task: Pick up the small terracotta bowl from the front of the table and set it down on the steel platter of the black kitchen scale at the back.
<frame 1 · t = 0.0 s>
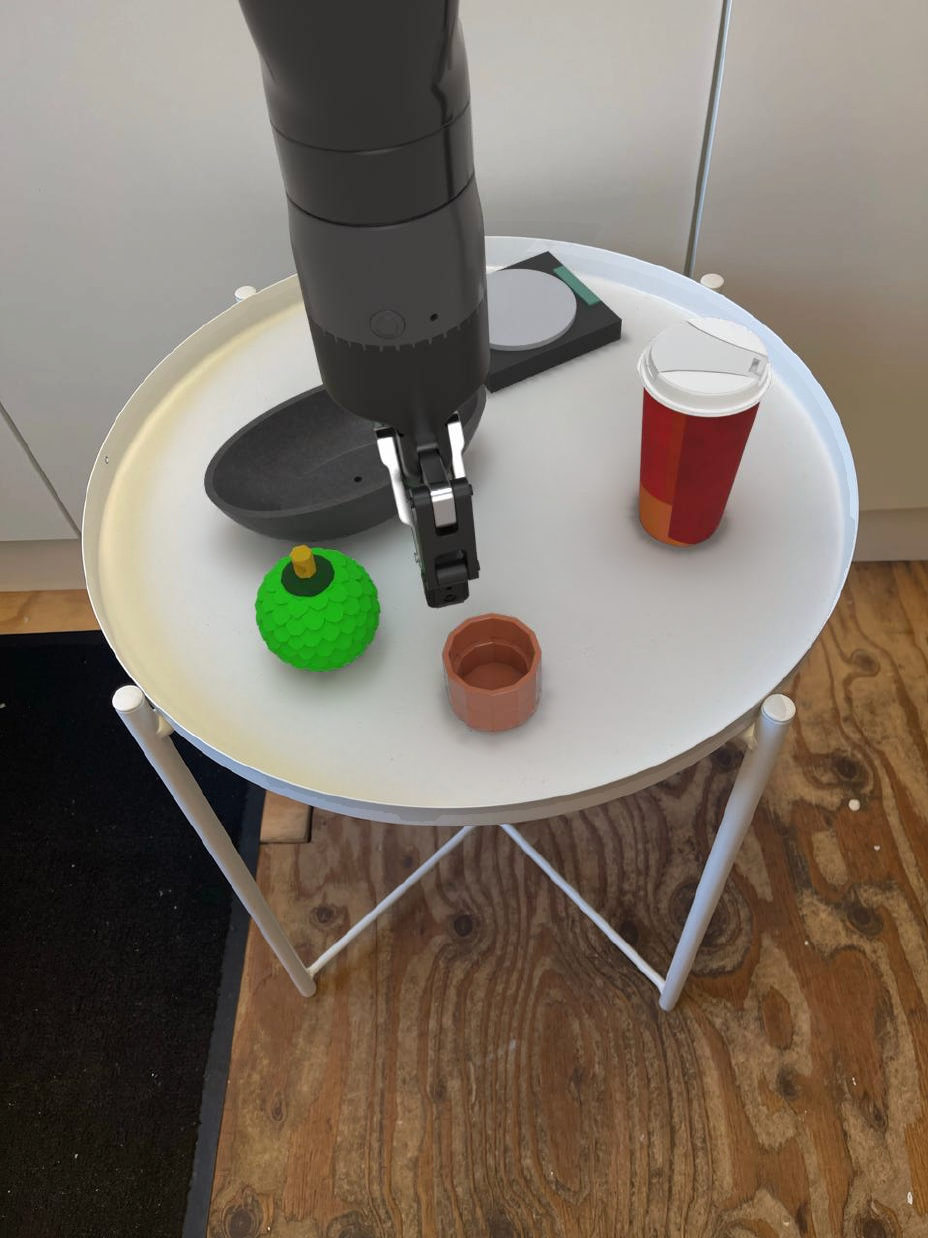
hand: (429, 539, 52), 15 cm above the table, tool pointing down, fingers open, 8 cm apart
coffee cup: (677, 517, 72), on the table
ornament: (329, 646, 67), on the table
small bowl: (494, 694, 64), on the table
bowl: (361, 495, 75), on the table
scale: (521, 327, 86), on the table
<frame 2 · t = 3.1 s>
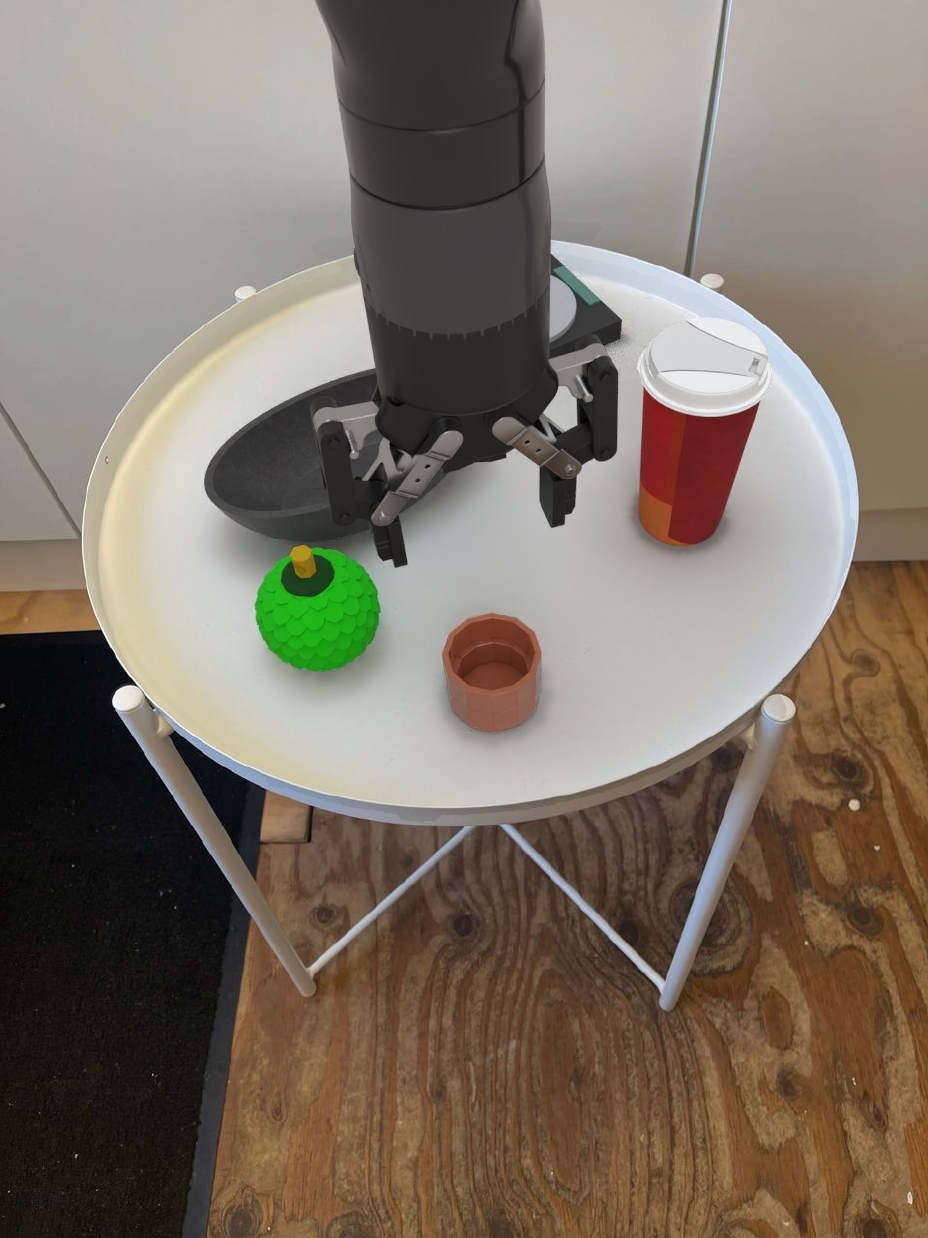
hand: (475, 534, 51), 16 cm above the table, tool pointing down, fingers open, 8 cm apart
nothing on the table moved.
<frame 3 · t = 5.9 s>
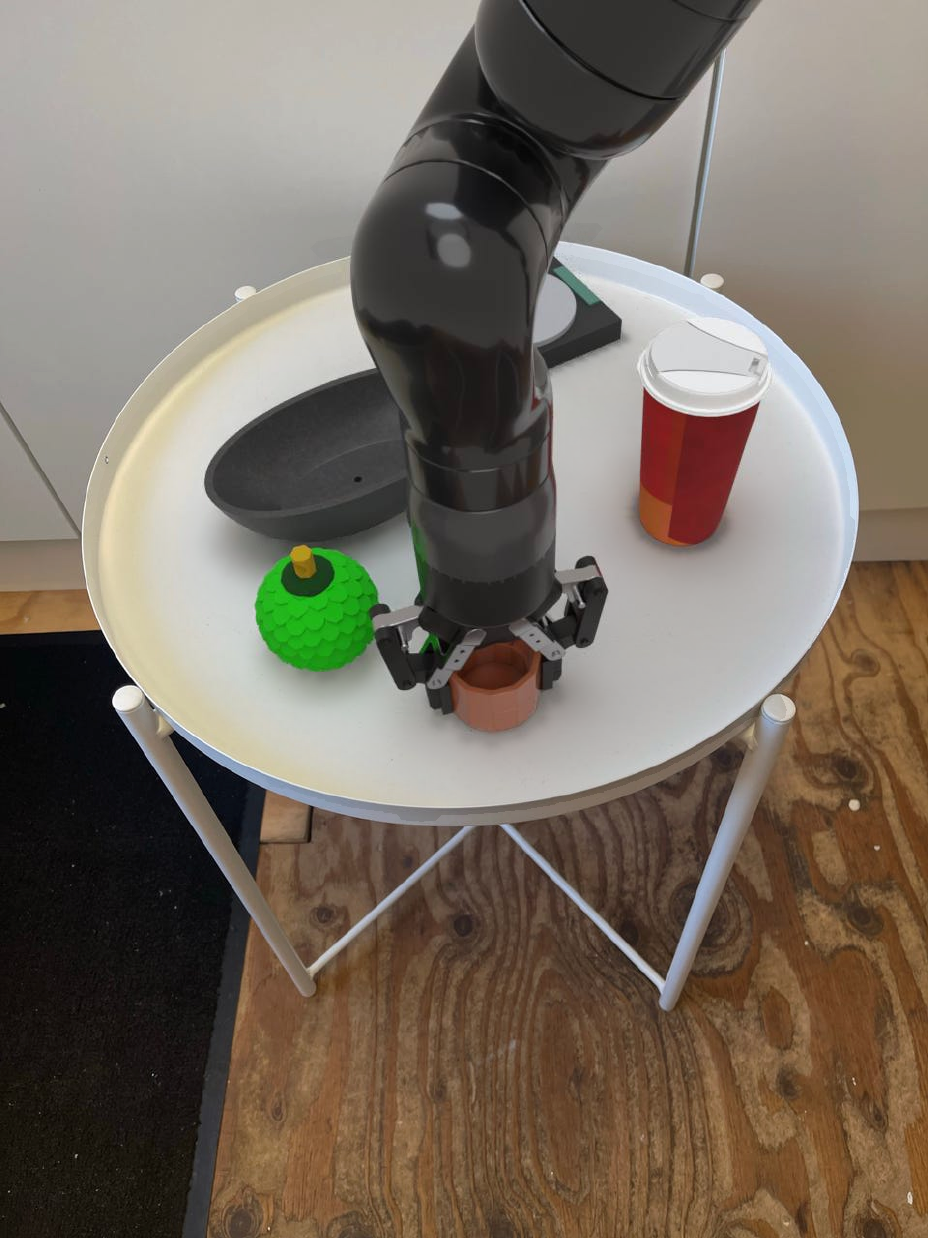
hand: (494, 690, 63), 1 cm above the table, tool pointing down, fingers closed on small bowl, 6 cm apart
small bowl: (494, 694, 64), on the table, touching gripper
everything else where it was.
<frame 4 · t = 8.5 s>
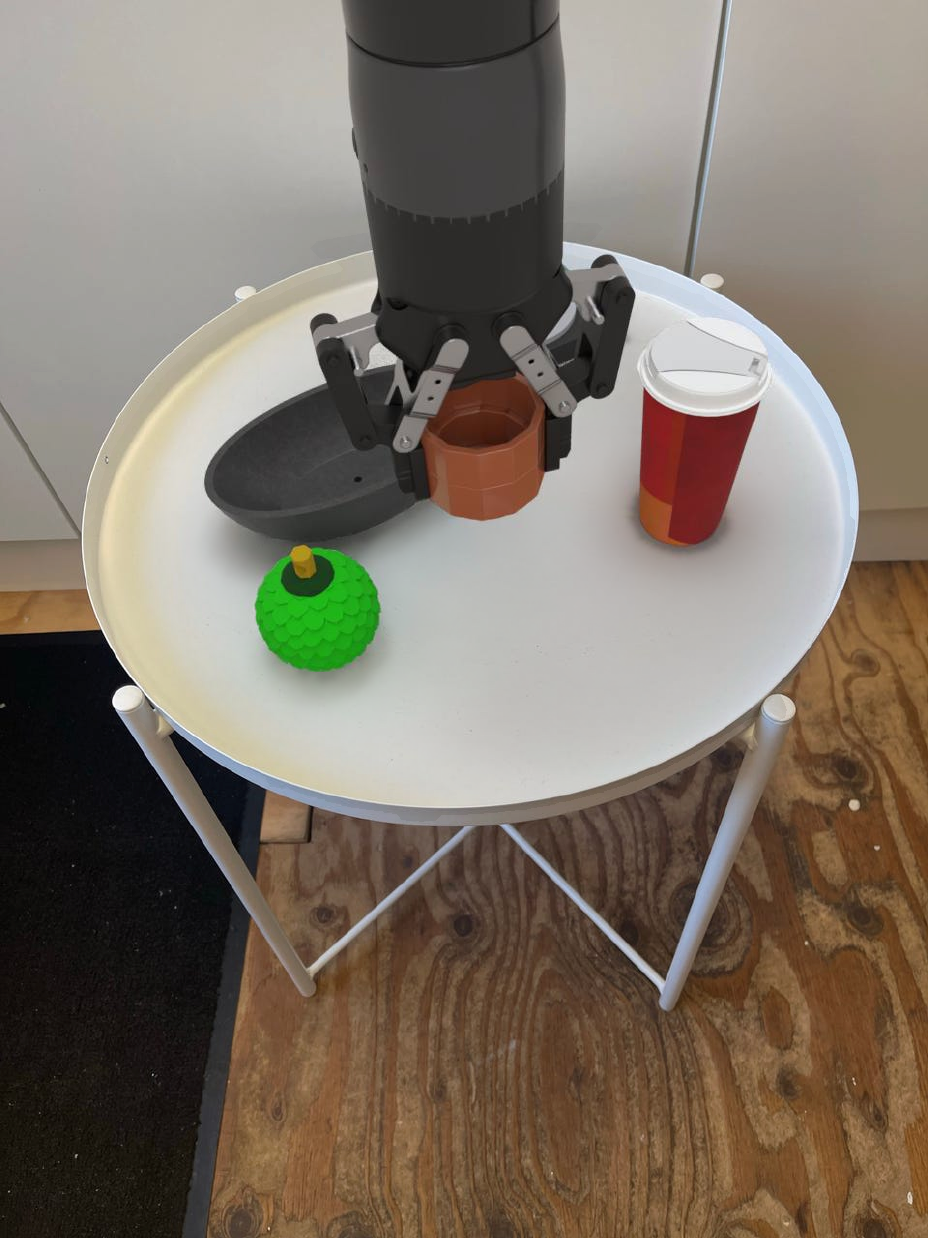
hand: (483, 473, 49), 20 cm above the table, tool pointing down, fingers closed on small bowl, 6 cm apart
small bowl: (483, 482, 49), point 19 cm above the table, touching gripper
everything else where it was.
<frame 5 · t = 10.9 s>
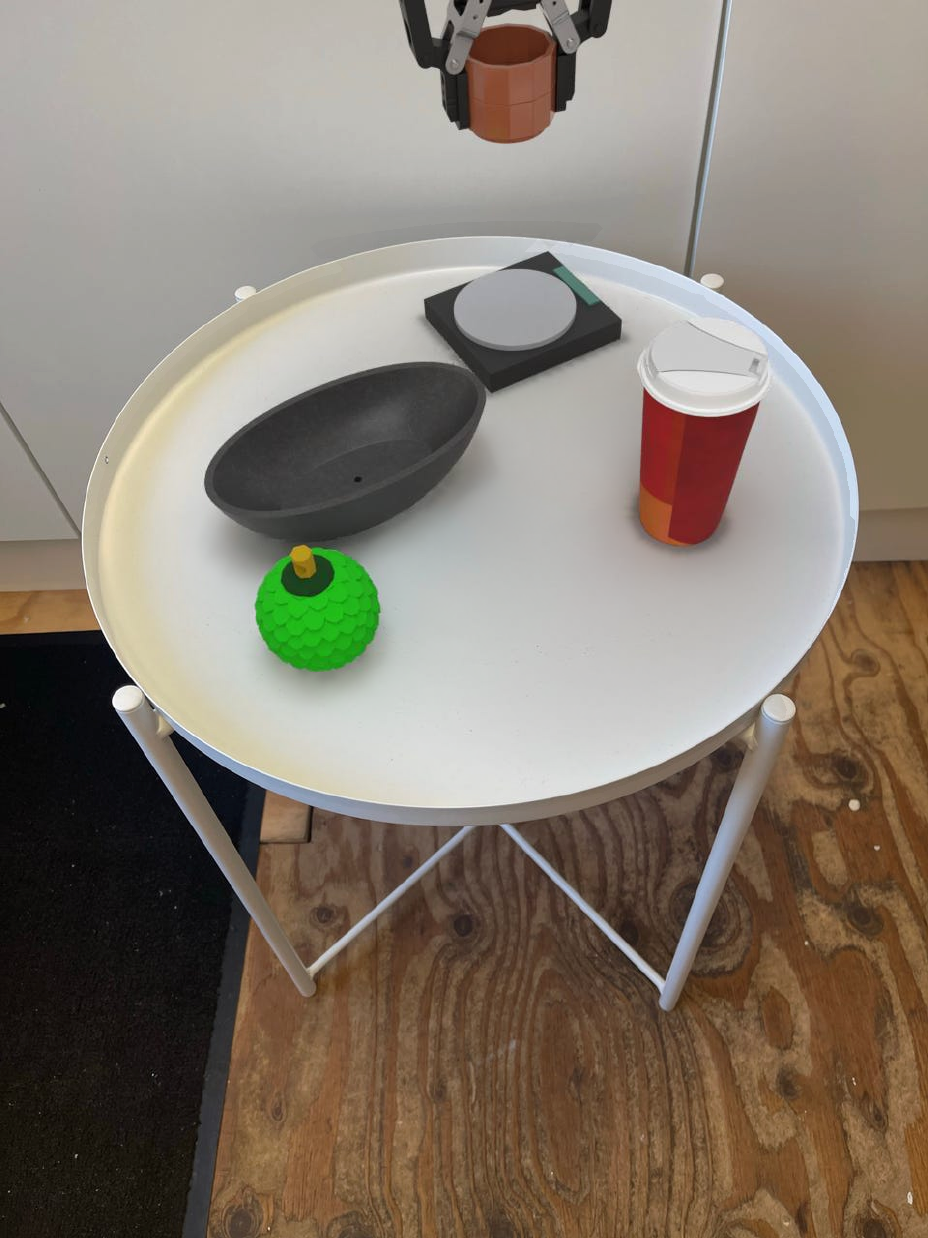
hand: (509, 114, 65), 22 cm above the table, tool pointing down, fingers closed on small bowl, 6 cm apart
small bowl: (509, 123, 65), point 21 cm above the table, touching gripper
everything else where it was.
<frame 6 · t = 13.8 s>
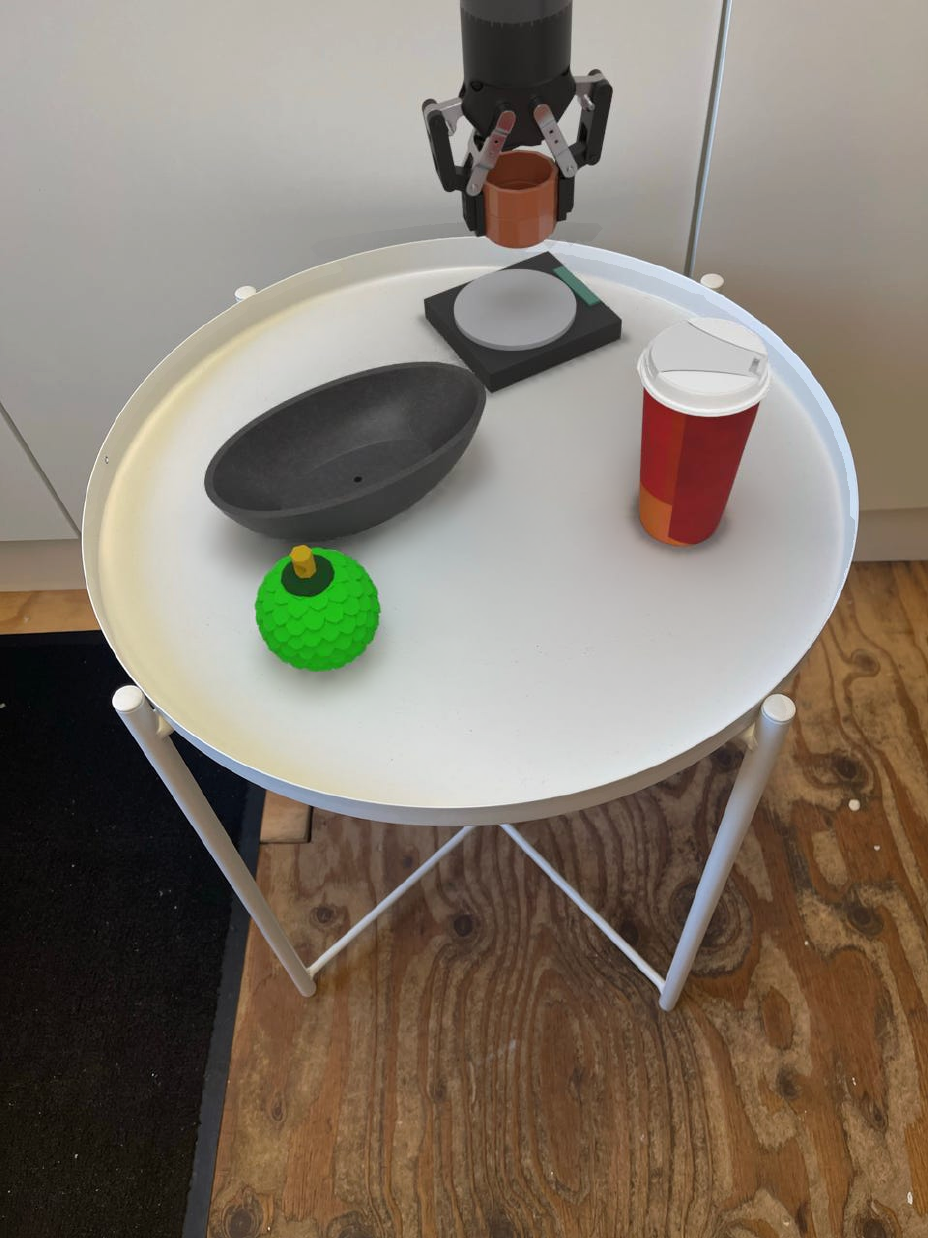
hand: (518, 222, 77), 10 cm above the table, tool pointing down, fingers closed on small bowl, 6 cm apart
small bowl: (518, 229, 78), point 10 cm above the table, touching gripper
everything else where it was.
when the fingers open (3 cm above the table, at t = 16.0 s): small bowl stays where it is, resting on scale.
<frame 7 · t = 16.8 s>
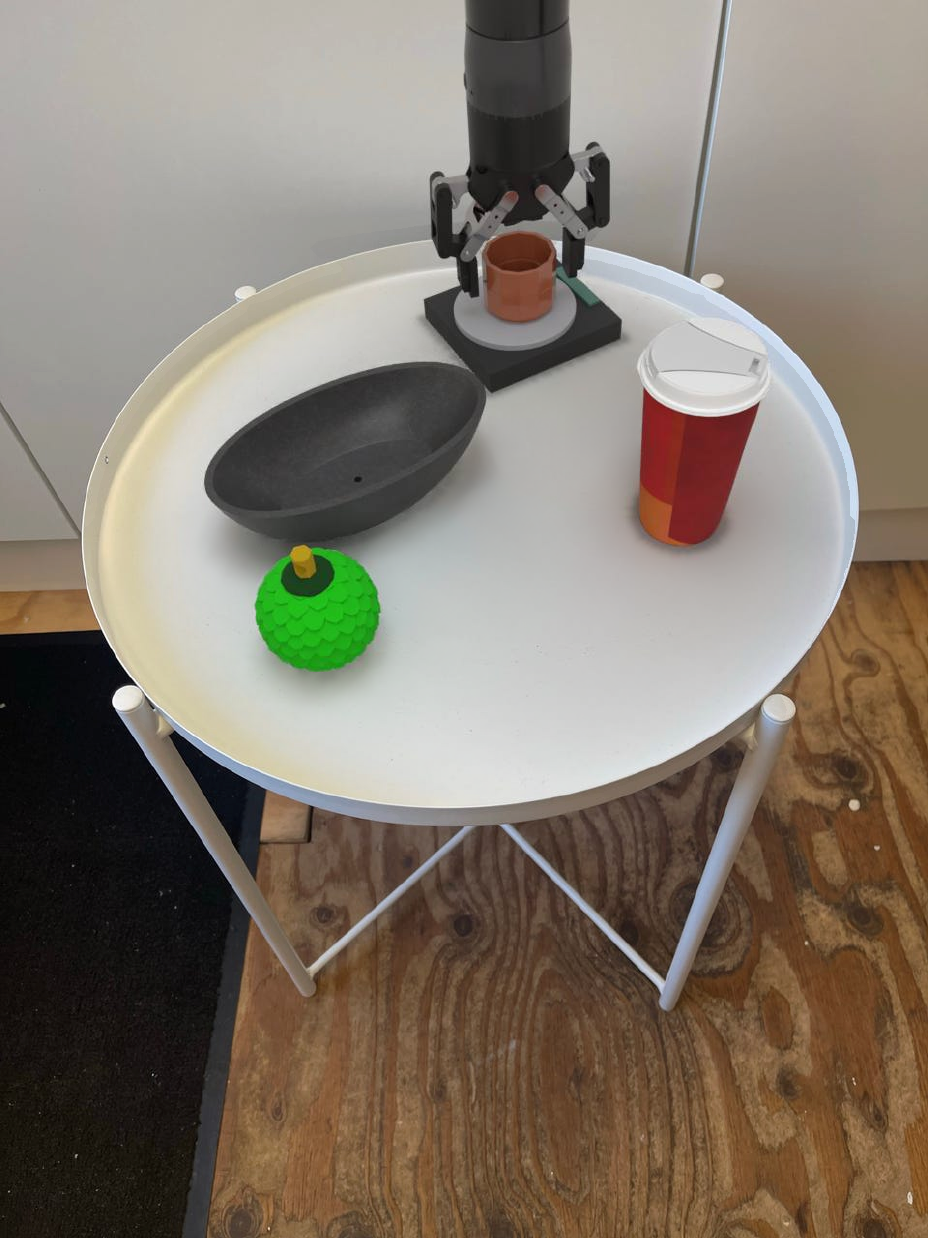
hand: (521, 282, 82), 5 cm above the table, tool pointing down, fingers open, 8 cm apart
small bowl: (519, 303, 84), point 3 cm above the table, touching scale
everything else where it was.
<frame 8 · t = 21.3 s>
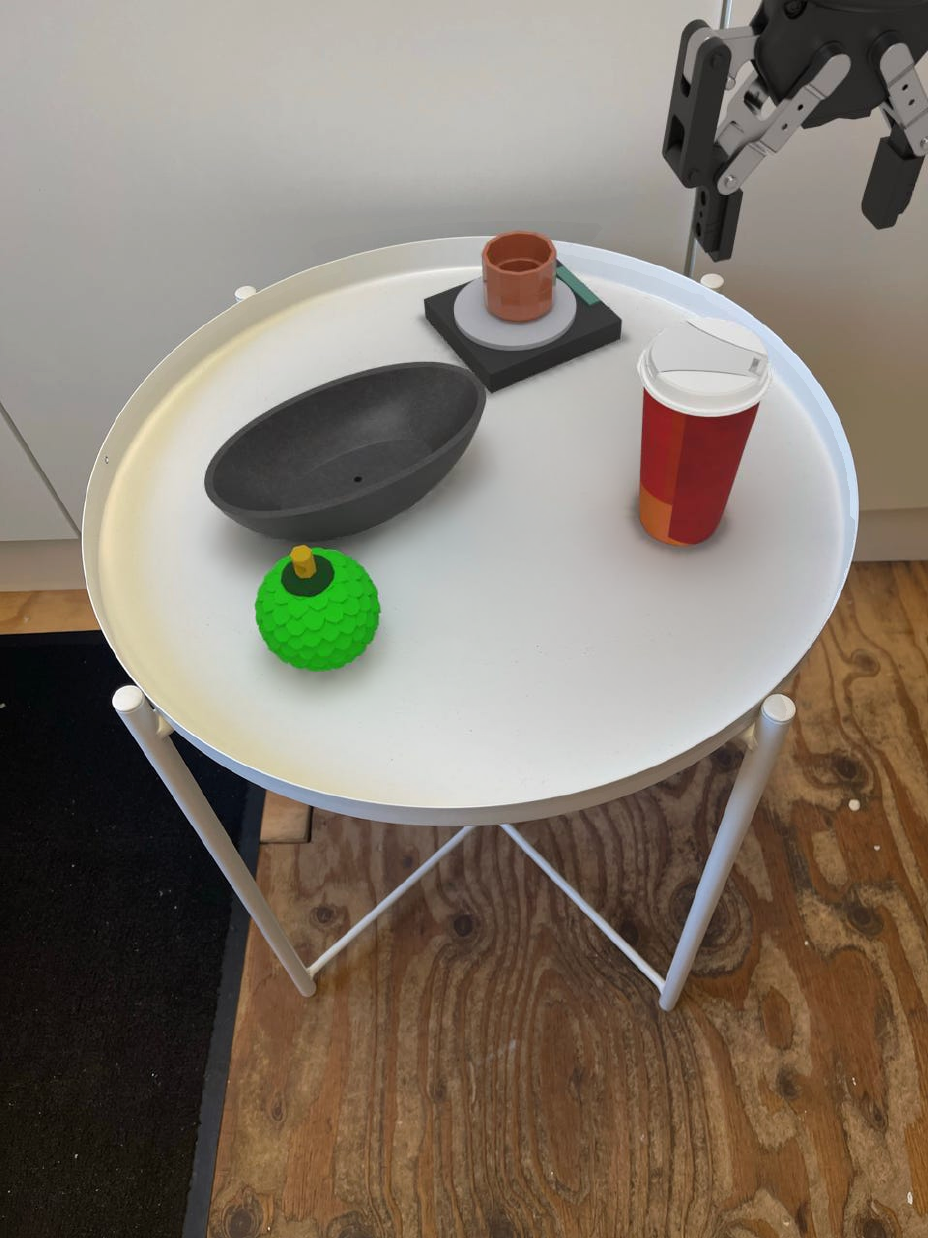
hand: (796, 236, 48), 26 cm above the table, tool pointing down, fingers open, 8 cm apart
nothing on the table moved.
at the end: small bowl inside the target area on the scale (0.1 cm from its centre), point 2.6 cm above the scale's base; small bowl tilted 0°; the gripper is holding nothing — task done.
